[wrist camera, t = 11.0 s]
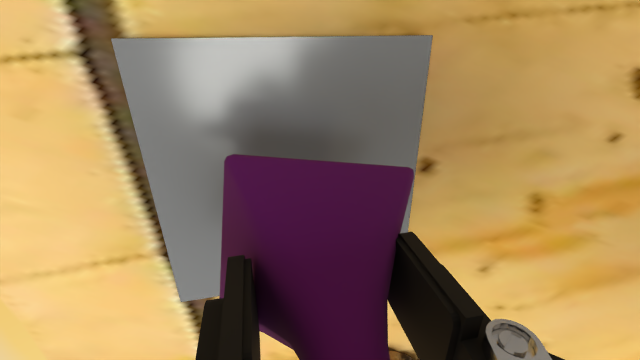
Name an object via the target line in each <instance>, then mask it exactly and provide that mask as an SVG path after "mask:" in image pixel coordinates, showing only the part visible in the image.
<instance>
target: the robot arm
mask: <svg viewBox="0 0 640 360" xmlns="http://www.w3.org/2000/svg"><path fill="white" fill-rule="evenodd" d="M388 302H389V304H390V306H391V307H392V309H393V311H394V313H395V315H396V317H397V319H398V321H399V322H400V324H401V326H402V328H403V330H404V332H405V334H406V336H407V337H408V339H409V341H410V343H411V345H412V347H413V349H414V350H415V352H416V354H417V356H418V358H419V360H564V359H562V358H560V357H557V356H555V355H552V354H550V353H548V352H547V351H546V349H545V348H544V346H543V344H542V343H541V341H540V340H539V339H538V338H537V336H536V335H535V334H534V333H533V332H531V331H530V330H529V329H528V328H526V327H524V326H523V325H521V324H519V323H516V322H514V321H511V320H506V319H495V320H493V321H491V320H490V319H489V318H488V317H487V315H486V314H485V313H484V312H483V311H482V310H481V308H480V307H479V306H478V305H477V304H476V303H475V302H474V300H473V299H472V298H471V297H470V296H469V295H468V293H467V292H466V291H465V290H464V289H463V288H462V287H461V285H460V284H459V283H458V282H457V281H456V280H455V278H454V277H453V276H452V275H451V274H450V273H449V271H448V270H447V269H446V268H445V267H444V266H443V265H442V264H440V263H439V262H438V261H437V259H436V258H435V257H434V256H433V255H432V254H431V252H430V251H429V250H428V249H427V248H426V247H425V245H424V244H423V243H422V242H421V241H420V240H419V238H418V237H417V236H416V235H415V234H414V233H413V232H406V233H399V234H398V238H397V239H396V254H395V259H394V265H393V271H392V277H391V282H390V288H389V294H388ZM196 360H260V336H259V321H258V312H257V303H256V294H255V285H254V278H253V270H252V262H251V258H248V259H245V256H244V255H238V256H231V257H228V259H227V269H226V280H225V290H224V298H220V299H214V300H207V301H206V302H205V306H204V311H203V317H202V323H201V329H200V335H199V342H198V348H197V354H196Z"/></svg>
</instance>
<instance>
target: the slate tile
mask: <svg viewBox="0 0 640 360" xmlns="http://www.w3.org/2000/svg"><path fill="white" fill-rule="evenodd" d="M432 37H433V35H421V36H324V37H227V38H130V39H111V40H112V44H113V48H114V51H115V55H116V59H117V63H118V67H119V70H120V74H121V78H122V82H123V85H124V89H125V93H126V97H127V101H128V104H129V108H130V112H131V116H132V119H133V123H134V127H135V131H136V135H137V138H138V142H139V146H140V150H141V153H142V157H143V161H144V165H145V169H146V172H147V176H148V180H149V184H150V187H151V191H152V195H153V199H154V203H155V206H156V210H157V214H158V218H159V221H160V225H161V229H162V233H163V237H164V240H165V244H166V248H167V252H168V255H169V259H170V263H171V267H172V271H173V274H174V278H175V282H176V286H177V289H178V293H179V297H180V301H181V302H183V301H190V300H196V299H203V298H209V297H215V296H220V270H221V241H222V213H223V184H224V161H225V159H226V157H227V156H229V155H232V154H239V155H253V156H266V157H280V158H293V159H307V160H320V161H334V162H347V163H361V164H374V165H388V166H401V167H409V168H411V169H413V171H414V179H415V171H416V163H417V155H418V147H419V139H420V132H421V124H422V116H423V108H424V100H425V92H426V84H427V76H428V68H429V61H430V53H431V45H432ZM413 187H414V180H413V184H412V188H411V192H410V196H409V200H408V204H407V208H406V212H405V216H404V220H403V224H402V228H401V232H400V233H406V232H408V226H409V218H410V211H411V203H412V195H413Z"/></svg>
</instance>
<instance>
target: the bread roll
mask: <svg viewBox="0 0 640 360" xmlns="http://www.w3.org/2000/svg"><path fill="white" fill-rule="evenodd" d="M389 355H390V360H412V358H411V356H407V355H406V354H405V353H399V352H397V351H389Z"/></svg>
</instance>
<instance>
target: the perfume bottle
mask: <svg viewBox="0 0 640 360" xmlns="http://www.w3.org/2000/svg"><path fill="white" fill-rule="evenodd" d="M413 180H414V171H413V169H411V168H409V167H401V166H388V165H374V164H361V163H347V162H334V161H320V160H307V159H293V158H280V157H266V156H253V155H239V154H232V155H229V156H227V157H226V159H225V161H224V184H223V213H222V241H221V270H220V298H224V290H225V280H226V269H227V259H228V257H231V256H238V255H244V256H245V259H248V258H251V262H252V270H253V278H254V285H255V294H256V303H257V312H258V321H259V331H261V332H263V333H265V334H267V335H269V336H270V337H272V338H274V339H276V340H277V341H279V342H281V343H283V344H284V345H286V346H288V347H290V348H291V349H293V350H294V351H295V353H296V354H297V356H298V358H299V359H300V360H390V355H389V348H388V324H387V299H388V294H389V288H390V282H391V277H392V271H393V265H394V259H395V254H396V239H397V238H398V234H399V233H400V232H401V228H402V224H403V220H404V216H405V212H406V208H407V204H408V200H409V196H410V192H411V188H412V184H413ZM220 298H219V299H220Z"/></svg>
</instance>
